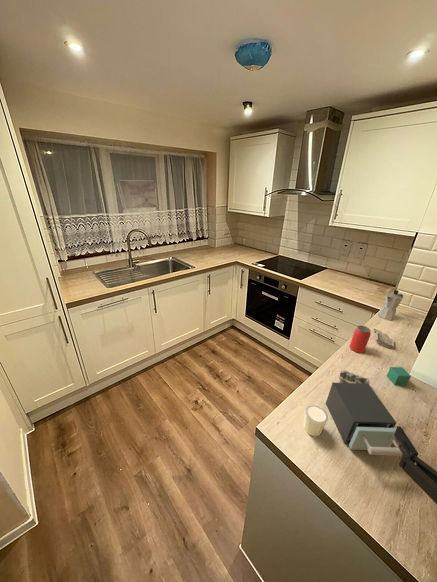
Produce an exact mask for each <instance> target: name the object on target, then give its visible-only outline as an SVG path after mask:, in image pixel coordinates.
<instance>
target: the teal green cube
mask: <svg viewBox="0 0 437 582" xmlns="http://www.w3.org/2000/svg"><path fill="white" fill-rule="evenodd" d="M386 377H387V378H388V379H389V380H390V382H391V383H392V384H393V386H407V385H408V383H409V381H410V379H411V378H412V376H411V375H410V373H409V372H408V371H407V370H406V369H405V368H404V367H402V366H390V367H389V369H388V372H387V373H386Z"/></svg>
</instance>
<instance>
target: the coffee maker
mask: <svg viewBox="0 0 437 582" xmlns="http://www.w3.org/2000/svg"><path fill="white" fill-rule="evenodd" d="M399 292H400V291H399V290H397V289H393V292H387V293H386V294H385V297H384V301H383V306H382V307H381V308H380V310H379V312H378V314H377V315H378V317H379V318H381V319H382V320H385V321H395V318H396V313H397V308H398V307H399V305H400V304H401V302H402V300H403V298H404V295H403V294H402V293H399Z"/></svg>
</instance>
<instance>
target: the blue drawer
mask: <svg viewBox="0 0 437 582" xmlns="http://www.w3.org/2000/svg"><path fill="white" fill-rule="evenodd" d="M389 425H390V424H366V423H356V424H355V426H354V428H353V431H352V433H351V435H350V438H349V440H351V441H350V444H348V447H349V449H350V450H361V451H363V450H364V451H367V453H368V454H369V455H371V456H372V455H373V456H400V457H401V456H402V455H403V454H402V452H401V451H400V449H399V447H398V445H399V444H398V442H396V440H395V439H396V437H395V436H394V434H395V431H396V429H397V427H394V428H388V427H389ZM392 444H393V447H392Z"/></svg>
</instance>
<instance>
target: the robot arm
mask: <svg viewBox="0 0 437 582" xmlns="http://www.w3.org/2000/svg"><path fill="white" fill-rule="evenodd" d="M394 436H395V439H396V441H397V443H398V444H397V445H398V447H399V449H400V451H401V452H402V454H403V455H402V456H400V458H399V461H398V463H397V465H398V466H399V467H400V469H402V471H403V472H404V473H405V474H406V475H407V476H408V477H409V478H410V479H411V480H412V481H413V482H414V483H415V484H416V485H417V486H418V487H419V488H420V489H421V490H422V491H423V493H425V494H426V495H427V496H428V497H429V498H430V499H431V500H432V501H433V502H434V503H435V504H436V505H437V470H436V469H435V468H433V467H432V466H431V465H430V464H428V463H427V462H425V461H424V460H423V459H421V458H420V457H419V452H418V450H417V449H416V447H415V445H414V444H413V443H412V441H411V439H410V438H409V437H408V435H407V433H406V432H405V431H404V429H403V427H402V426H400V425H397V426H396V431H395V434H394Z"/></svg>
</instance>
